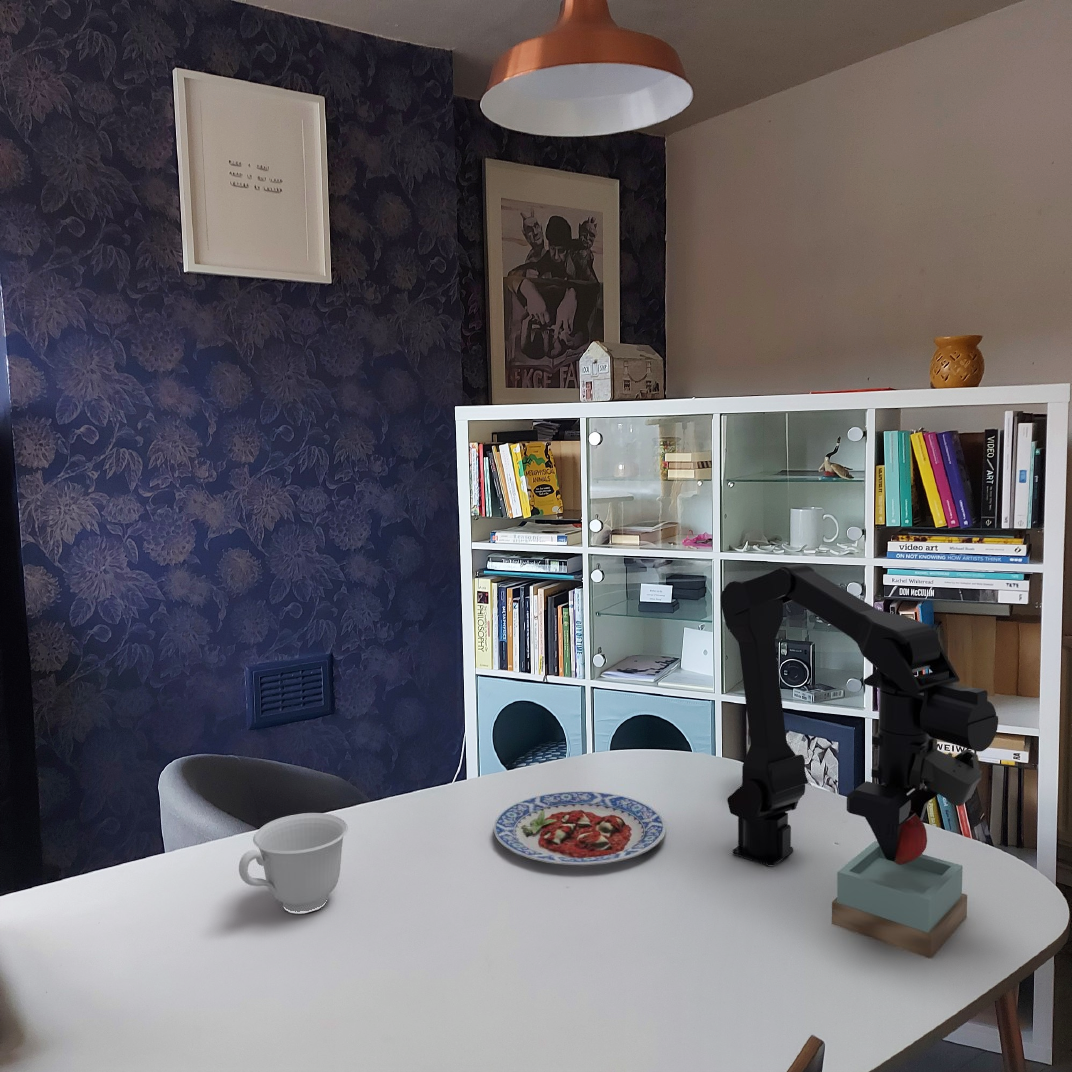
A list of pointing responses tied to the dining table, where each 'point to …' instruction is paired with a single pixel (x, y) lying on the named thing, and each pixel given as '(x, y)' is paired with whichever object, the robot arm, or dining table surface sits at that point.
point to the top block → (900, 887)
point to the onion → (911, 840)
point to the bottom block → (901, 928)
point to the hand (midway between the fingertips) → (900, 851)
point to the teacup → (298, 858)
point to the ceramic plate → (579, 828)
